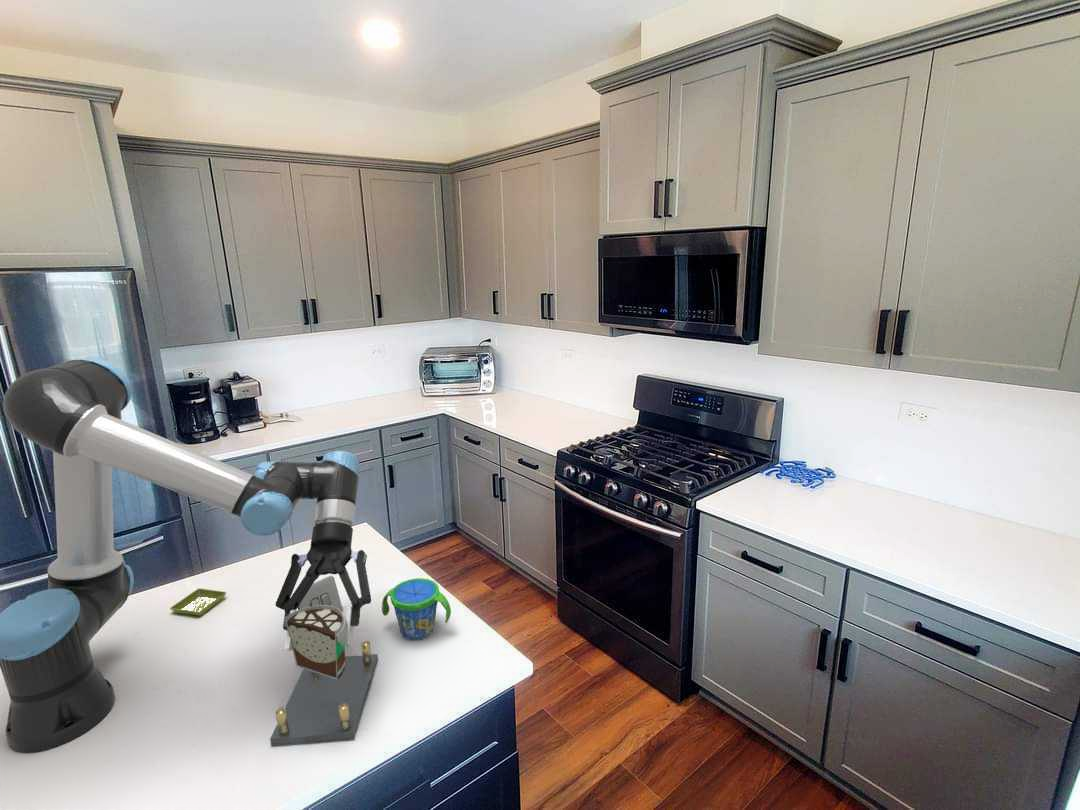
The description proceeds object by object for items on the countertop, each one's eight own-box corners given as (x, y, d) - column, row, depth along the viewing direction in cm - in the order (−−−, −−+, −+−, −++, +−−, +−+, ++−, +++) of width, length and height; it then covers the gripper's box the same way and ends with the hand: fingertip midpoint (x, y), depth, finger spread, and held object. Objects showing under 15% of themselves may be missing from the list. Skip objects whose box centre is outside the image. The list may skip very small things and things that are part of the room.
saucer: (170, 615, 132) (168, 608, 132) (200, 595, 141) (198, 587, 140) (200, 620, 130) (198, 612, 130) (228, 599, 139) (227, 591, 138)
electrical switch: (307, 632, 125) (299, 595, 123) (295, 625, 128) (288, 589, 126) (344, 612, 132) (337, 576, 130) (332, 606, 135) (326, 571, 133)
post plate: (271, 746, 95) (266, 719, 94) (309, 664, 114) (306, 642, 113) (354, 739, 96) (350, 713, 95) (378, 660, 115) (375, 637, 114)
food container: (367, 658, 101) (361, 611, 99) (344, 682, 96) (337, 632, 93) (315, 642, 106) (308, 597, 103) (290, 664, 100) (282, 616, 98)
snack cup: (459, 622, 127) (457, 583, 125) (438, 652, 117) (434, 610, 115) (400, 611, 132) (396, 573, 129) (374, 639, 122) (370, 598, 120)
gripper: (393, 529, 114) (385, 646, 103) (283, 535, 113) (263, 654, 101) (385, 516, 108) (376, 640, 96) (269, 523, 106) (246, 649, 95)
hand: (318, 647), depth 99 cm, fingers closed on food container, 9 cm apart
